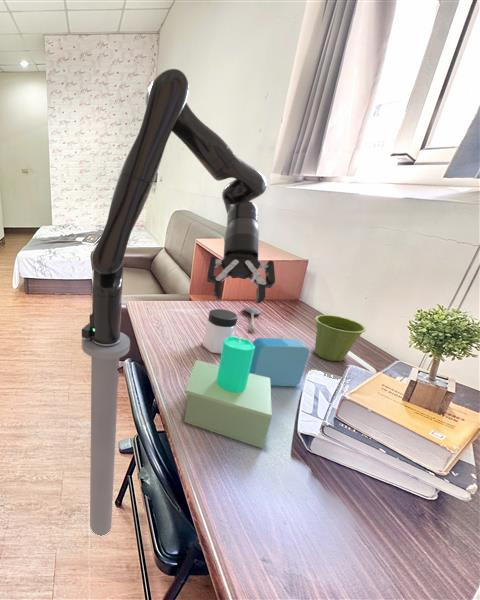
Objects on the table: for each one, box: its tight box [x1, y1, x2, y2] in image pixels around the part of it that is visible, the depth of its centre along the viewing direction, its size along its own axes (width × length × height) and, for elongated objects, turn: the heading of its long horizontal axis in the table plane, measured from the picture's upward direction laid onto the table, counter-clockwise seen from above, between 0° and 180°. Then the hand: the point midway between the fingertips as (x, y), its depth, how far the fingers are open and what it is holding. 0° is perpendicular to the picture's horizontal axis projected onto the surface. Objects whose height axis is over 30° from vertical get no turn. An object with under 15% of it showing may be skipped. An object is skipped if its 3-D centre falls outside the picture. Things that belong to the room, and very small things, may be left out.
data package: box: [249, 337, 310, 387], centre depth 82 cm, size 12×4×12 cm, turn 86°
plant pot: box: [314, 314, 367, 362], centre depth 93 cm, size 12×12×11 cm
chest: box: [183, 394, 272, 449], centre depth 71 cm, size 16×14×8 cm
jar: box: [202, 308, 239, 355], centre depth 98 cm, size 9×8×12 cm
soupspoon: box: [242, 306, 262, 333], centre depth 119 cm, size 22×3×7 cm
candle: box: [217, 336, 255, 393], centre depth 67 cm, size 6×6×12 cm
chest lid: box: [184, 359, 273, 419], centre depth 69 cm, size 16×14×1 cm
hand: (238, 299), depth 71 cm, fingers open, 8 cm apart
